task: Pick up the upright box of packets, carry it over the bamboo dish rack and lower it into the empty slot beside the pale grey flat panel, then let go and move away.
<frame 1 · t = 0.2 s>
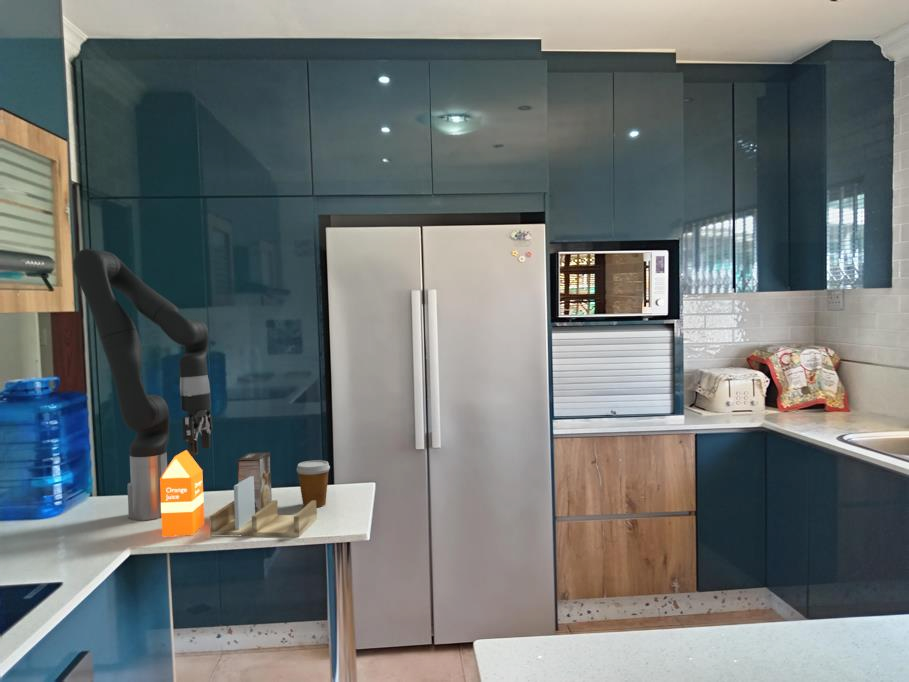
hand: (200, 451, 177), 18 cm above the counter, tool pointing down, fingers open, 8 cm apart
orange juice: (183, 531, 165), on the counter
disposable coffee cup: (314, 505, 185), on the counter
rack: (265, 527, 166), on the counter
coffee box: (256, 513, 179), on the counter
pale grey flat panel: (245, 527, 167), resting on rack
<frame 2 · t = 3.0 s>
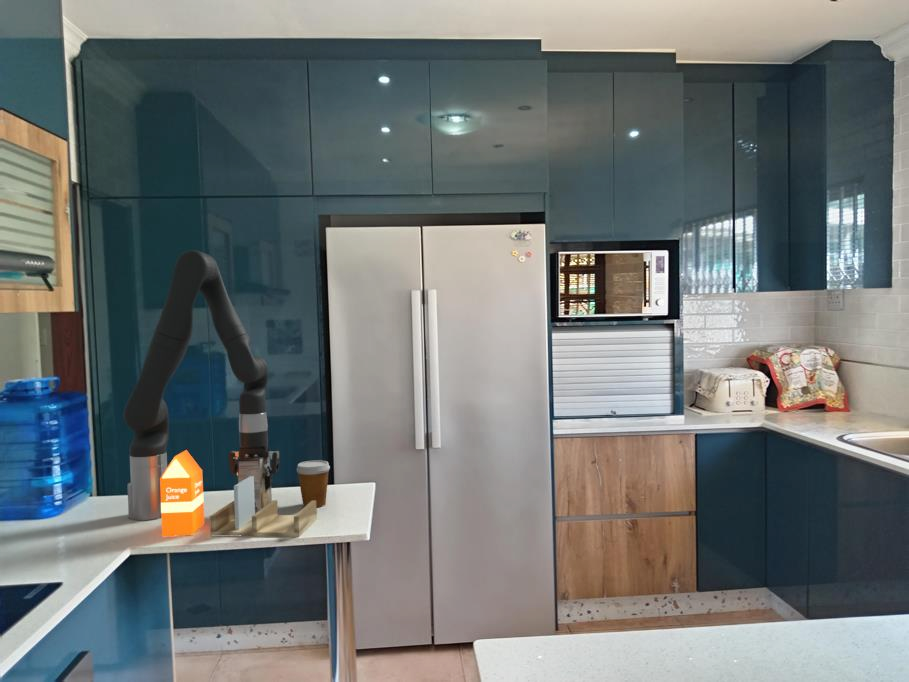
hand: (255, 488, 179), 7 cm above the counter, tool pointing down, fingers closed on coffee box, 6 cm apart
coffee box: (256, 513, 179), on the counter, touching gripper
everything else where it was.
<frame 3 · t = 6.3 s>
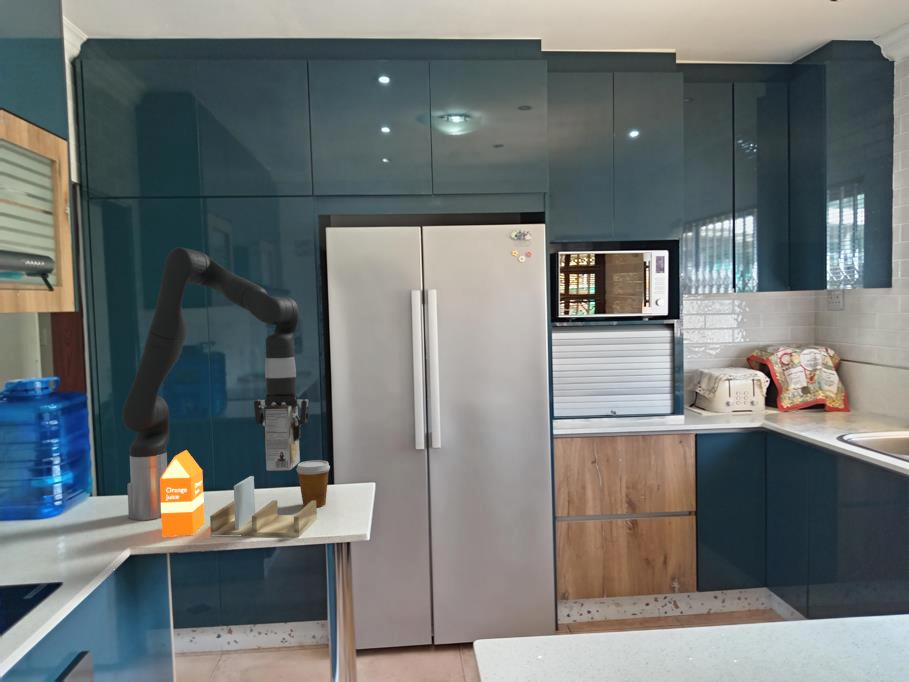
hand: (282, 440, 165), 23 cm above the counter, tool pointing down, fingers closed on coffee box, 6 cm apart
coffee box: (283, 467, 165), point 16 cm above the counter, touching gripper
everything else where it was.
when the fingers open (9 cm above the counter, at t = 9.6 s): coffee box stays where it is, resting on rack.
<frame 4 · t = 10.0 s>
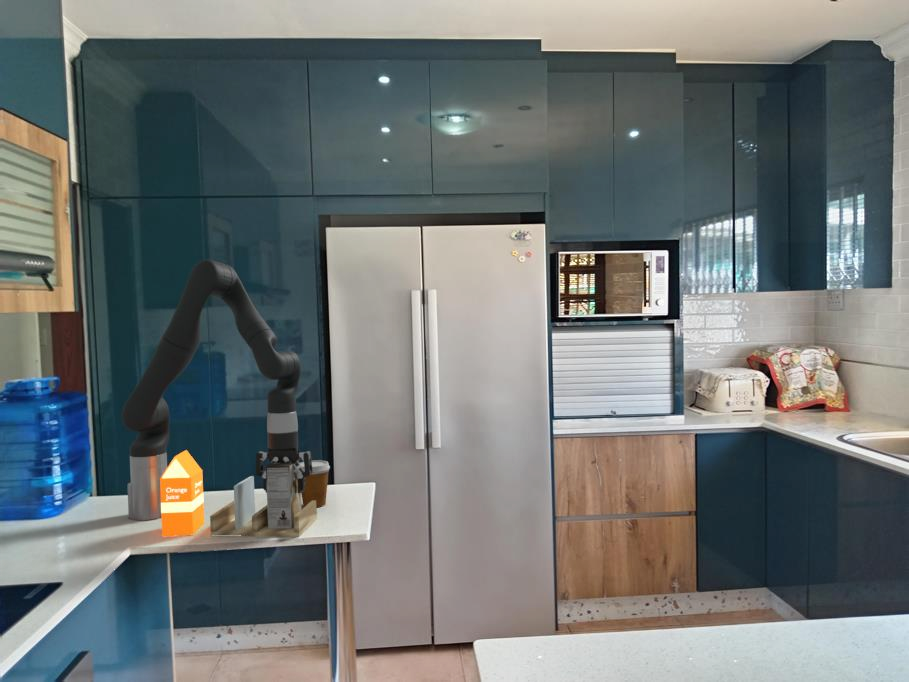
hand: (284, 492, 165), 9 cm above the counter, tool pointing down, fingers open, 8 cm apart
coffee box: (285, 524, 166), point 1 cm above the counter, touching rack
everything else where it was.
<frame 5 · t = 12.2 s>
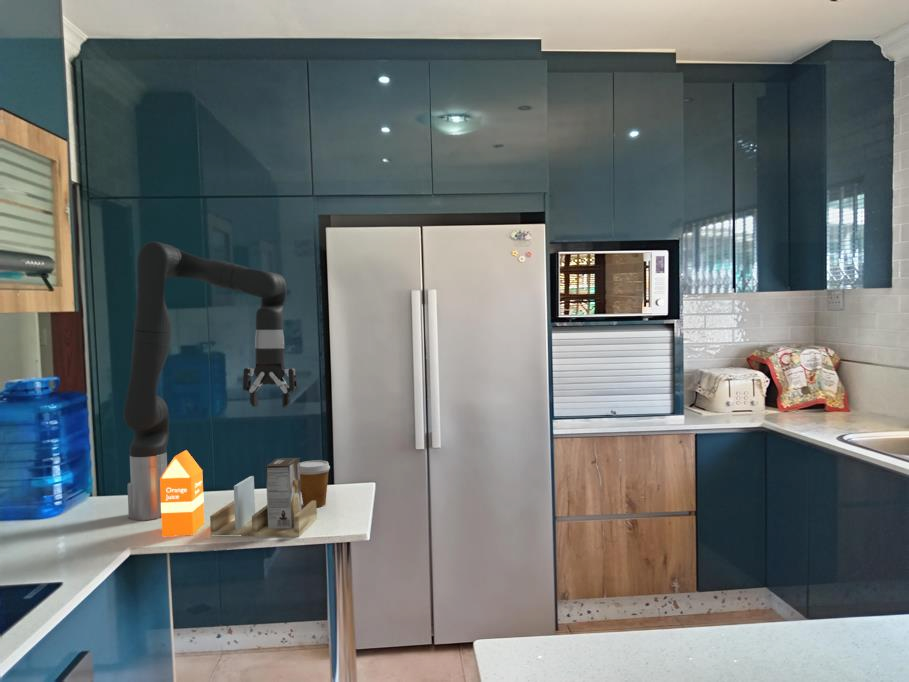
hand: (270, 406, 174), 30 cm above the counter, tool pointing down, fingers open, 8 cm apart
nothing on the counter moved.
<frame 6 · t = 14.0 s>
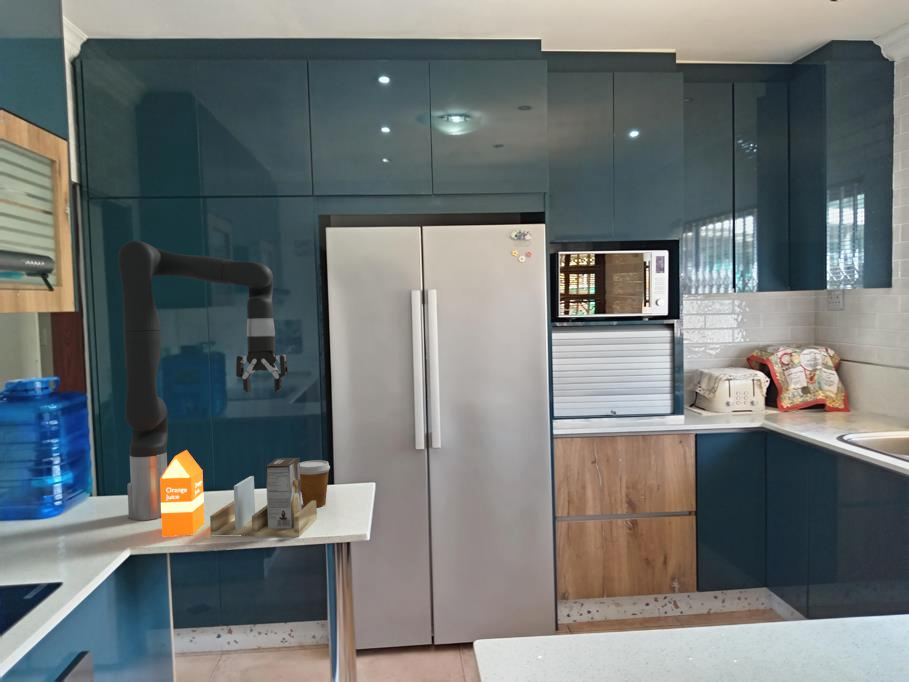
hand: (262, 391, 183), 33 cm above the counter, tool pointing down, fingers open, 8 cm apart
nothing on the counter moved.
at the end: coffee box inside the target area on the rack (0.2 cm from its centre), point 0.8 cm above the rack's base; coffee box tilted 0°; the gripper is holding nothing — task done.
